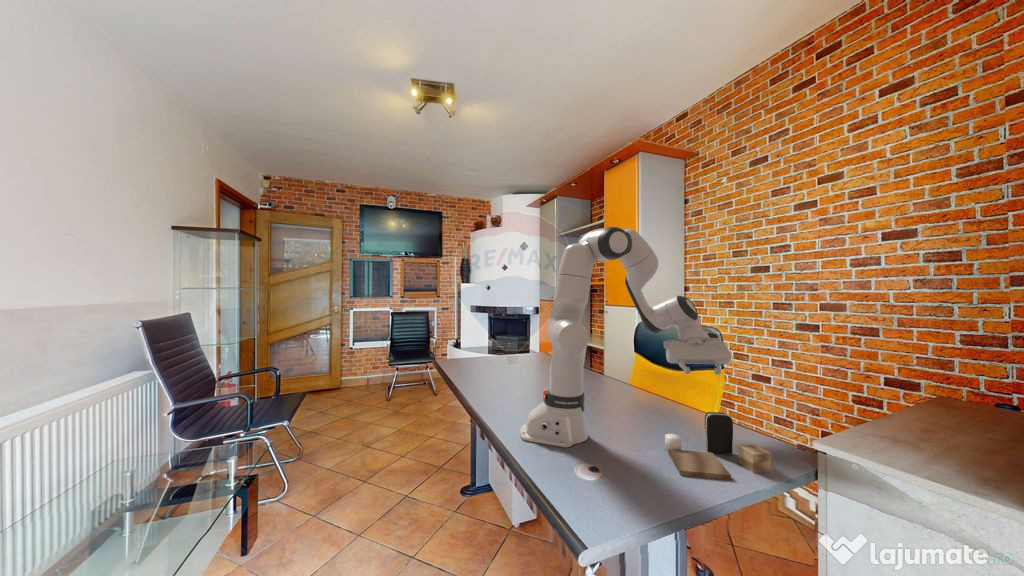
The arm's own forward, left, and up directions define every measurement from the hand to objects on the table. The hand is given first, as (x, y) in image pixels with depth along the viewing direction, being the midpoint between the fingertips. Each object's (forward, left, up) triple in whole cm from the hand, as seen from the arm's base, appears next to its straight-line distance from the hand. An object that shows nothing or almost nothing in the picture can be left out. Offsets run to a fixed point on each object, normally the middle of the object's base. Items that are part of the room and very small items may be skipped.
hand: (702, 373), depth 114 cm
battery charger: (0, -13, -20) cm, 24 cm away
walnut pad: (-9, -23, -20) cm, 32 cm away
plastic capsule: (-13, -15, -20) cm, 28 cm away
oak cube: (+6, -21, -20) cm, 30 cm away
